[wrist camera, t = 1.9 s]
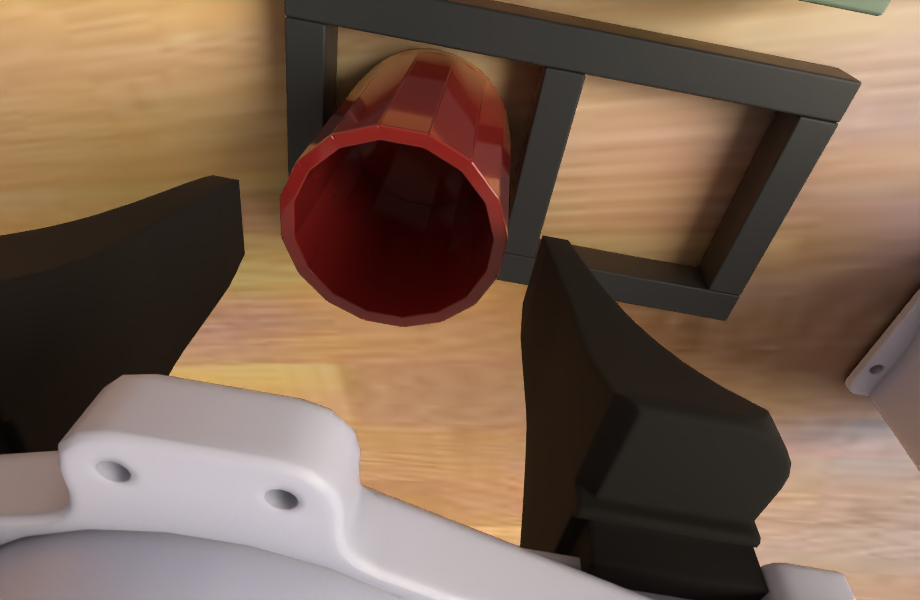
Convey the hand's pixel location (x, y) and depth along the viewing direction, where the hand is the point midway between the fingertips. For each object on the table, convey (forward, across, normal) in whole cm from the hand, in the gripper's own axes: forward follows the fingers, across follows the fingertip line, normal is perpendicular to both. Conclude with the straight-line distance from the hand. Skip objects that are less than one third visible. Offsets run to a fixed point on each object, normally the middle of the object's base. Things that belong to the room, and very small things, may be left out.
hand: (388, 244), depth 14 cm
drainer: (+7, -4, 0) cm, 8 cm away
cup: (+7, 0, 0) cm, 7 cm away
